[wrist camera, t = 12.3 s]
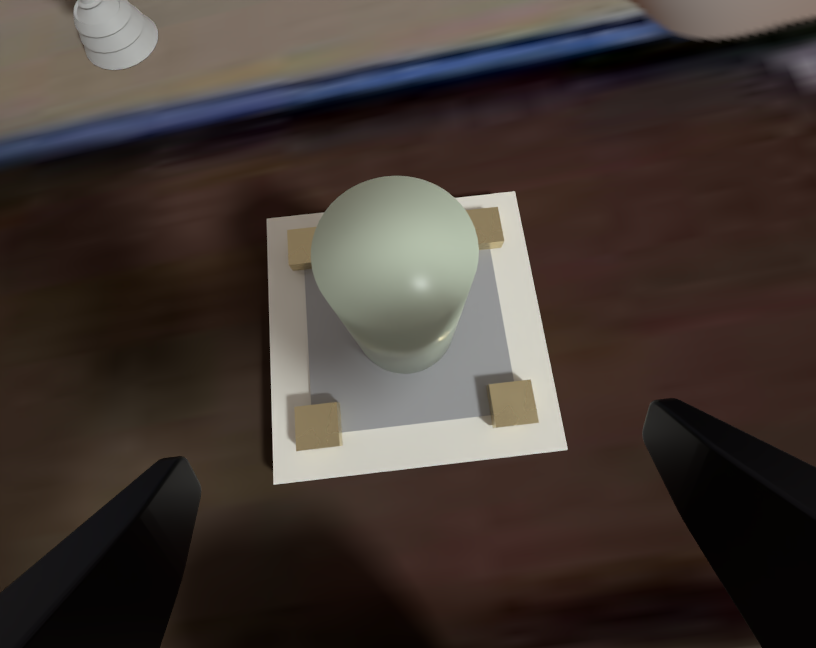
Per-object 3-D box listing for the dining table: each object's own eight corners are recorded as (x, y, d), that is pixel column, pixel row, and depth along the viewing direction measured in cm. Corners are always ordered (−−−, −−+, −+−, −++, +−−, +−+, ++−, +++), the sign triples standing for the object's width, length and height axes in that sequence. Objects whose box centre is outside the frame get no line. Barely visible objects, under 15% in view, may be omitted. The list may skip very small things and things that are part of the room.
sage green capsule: (376, 389, 20) (343, 357, 11) (342, 299, 21) (289, 209, 13) (469, 351, 20) (507, 292, 12) (431, 265, 22) (438, 154, 13)
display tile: (557, 448, 21) (575, 450, 18) (283, 480, 21) (266, 487, 18) (508, 205, 24) (519, 180, 22) (275, 231, 24) (260, 209, 22)
